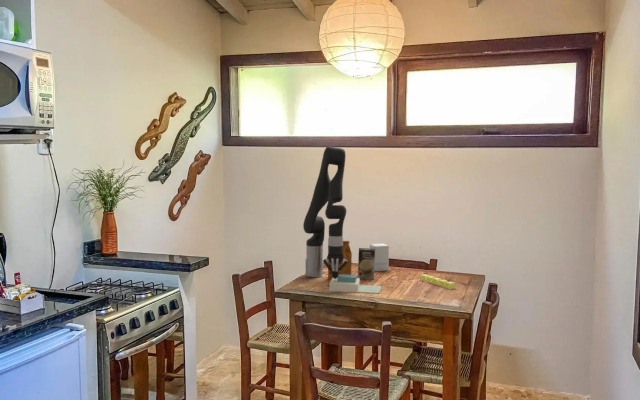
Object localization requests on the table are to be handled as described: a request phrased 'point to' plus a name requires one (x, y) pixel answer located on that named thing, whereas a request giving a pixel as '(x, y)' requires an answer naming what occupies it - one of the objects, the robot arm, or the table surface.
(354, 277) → the teal block
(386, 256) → the supplement box
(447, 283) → the yellow piece
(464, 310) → the table surface
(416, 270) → the table surface
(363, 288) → the mat
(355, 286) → the white flat block
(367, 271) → the coffee box
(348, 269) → the coffee package
